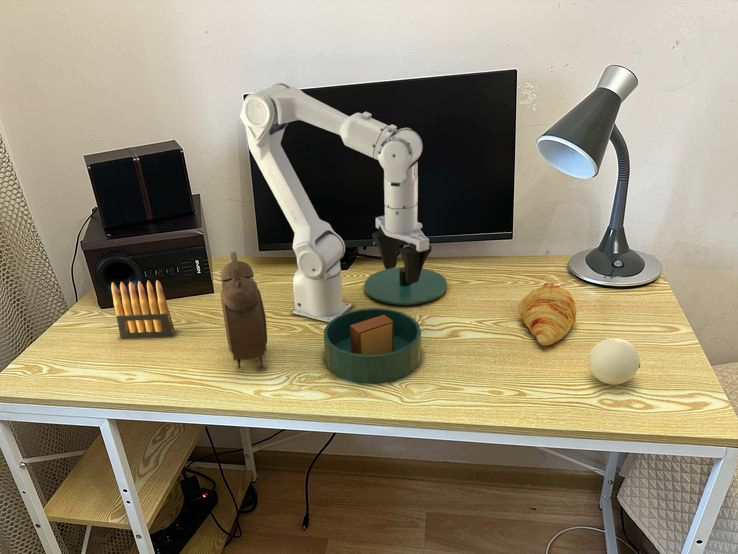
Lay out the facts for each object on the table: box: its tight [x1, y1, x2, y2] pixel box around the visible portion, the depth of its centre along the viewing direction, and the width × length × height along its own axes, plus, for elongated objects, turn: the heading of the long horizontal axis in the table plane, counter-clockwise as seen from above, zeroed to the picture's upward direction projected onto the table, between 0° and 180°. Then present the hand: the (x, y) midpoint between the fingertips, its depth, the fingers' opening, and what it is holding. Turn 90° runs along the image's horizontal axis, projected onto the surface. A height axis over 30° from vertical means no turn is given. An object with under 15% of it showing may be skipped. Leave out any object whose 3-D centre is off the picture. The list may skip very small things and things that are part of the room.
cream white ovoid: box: [588, 337, 641, 386], centre depth 102 cm, size 10×7×7 cm
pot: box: [323, 307, 422, 384], centre depth 113 cm, size 17×17×5 cm
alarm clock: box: [219, 251, 268, 370], centre depth 112 cm, size 14×7×20 cm, turn 9°
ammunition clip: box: [111, 279, 176, 340], centre depth 125 cm, size 11×2×12 cm, turn 86°
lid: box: [363, 266, 448, 306], centre depth 135 cm, size 17×17×4 cm
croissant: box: [517, 282, 577, 346], centre depth 118 cm, size 21×10×8 cm, turn 162°
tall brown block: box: [350, 315, 394, 355], centre depth 112 cm, size 3×7×6 cm, turn 116°
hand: (401, 274), depth 118 cm, fingers open, 7 cm apart
